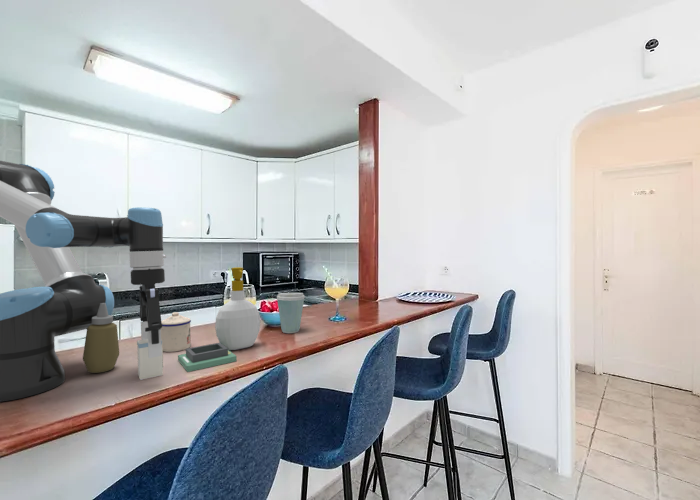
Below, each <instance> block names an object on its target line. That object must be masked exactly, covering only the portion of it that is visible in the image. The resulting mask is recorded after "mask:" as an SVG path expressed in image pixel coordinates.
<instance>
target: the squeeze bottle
mask: <svg viewBox="0 0 700 500" xmlns="http://www.w3.org/2000/svg"><path fill="white" fill-rule="evenodd" d="M84 340H85V341H84V349H83V355H82V362H83V363H84V365H85V368H86V371H87V372H88V373H92V374H95V373H97V374H98V373H105V372H108V371H110V370H111V371H112V370H113V369H115V366H116V363H117V361H118V358H119V356H120V345H119V333H118V325H117V324H116V323H114V316H113V314H112V315H108V311H107V307H106V303H100V306H99V310H98V313H97V316H94V317H92V325H90V326H89V327H88V328H87V329H86V335H85V339H84Z"/></svg>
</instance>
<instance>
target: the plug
mask: <svg viewBox="0 0 700 500" xmlns="http://www.w3.org/2000/svg"><path fill="white" fill-rule="evenodd" d="M136 345H137V348H136V349H137V376H138V378H139V380H140V381H141V380H147V379H152V378H155V377H159V376H164V373H163V368H164V351H163V348H162V340H161V348H162V356H158V357H153V358H149V355H148V339H145V340H141V339H140V340H137V341H136Z"/></svg>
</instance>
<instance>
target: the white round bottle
mask: <svg viewBox="0 0 700 500" xmlns="http://www.w3.org/2000/svg"><path fill="white" fill-rule="evenodd" d="M231 275H232V279H233V280H231V290H230V300H228V301H227V302H225V304H224V303H223V305H222V306H221V307H220V309H218V312H217V315H216V317H215V323H214V324H215V327H214V328H215V334H216V338H217V339H218V343H221V344H222V345H224V346H225V347H226V348H228V350H229V351H237V350H243V349H248V348H250V347H252V346H253V345H255V343H256V340H257V337H258V335H259V332H260V328H261V318H260V316H261V315H260V312H259V309H258V307H257V306H256V305H255V304H254V303H252V302H251V301H249V300H247V299H245V289H244V280H242V278H243V275H244V267H239V266H238V267H237V266H236V267H232V268H231Z"/></svg>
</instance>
